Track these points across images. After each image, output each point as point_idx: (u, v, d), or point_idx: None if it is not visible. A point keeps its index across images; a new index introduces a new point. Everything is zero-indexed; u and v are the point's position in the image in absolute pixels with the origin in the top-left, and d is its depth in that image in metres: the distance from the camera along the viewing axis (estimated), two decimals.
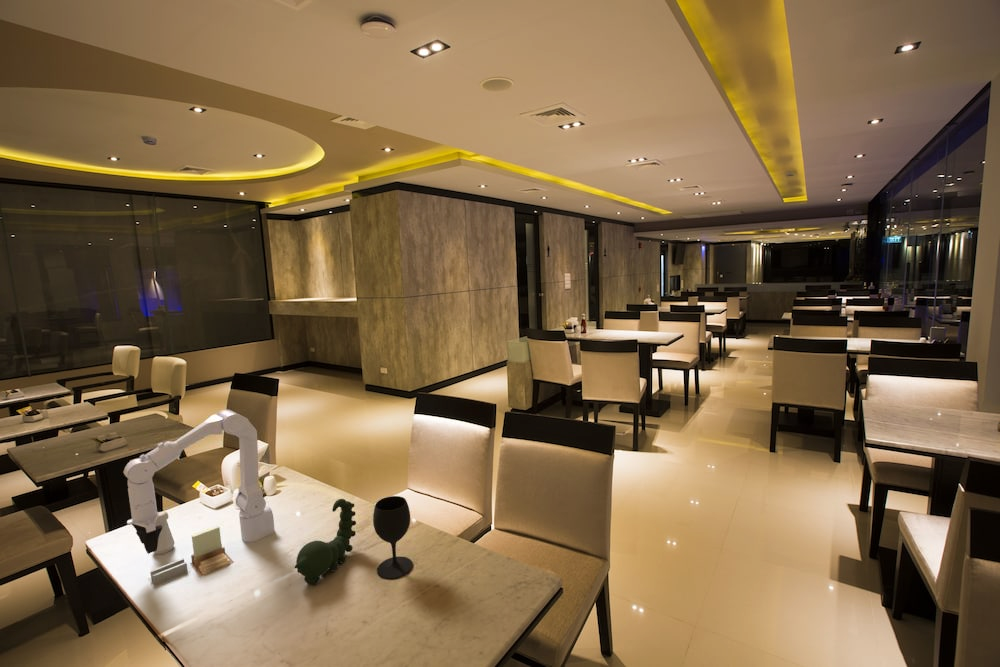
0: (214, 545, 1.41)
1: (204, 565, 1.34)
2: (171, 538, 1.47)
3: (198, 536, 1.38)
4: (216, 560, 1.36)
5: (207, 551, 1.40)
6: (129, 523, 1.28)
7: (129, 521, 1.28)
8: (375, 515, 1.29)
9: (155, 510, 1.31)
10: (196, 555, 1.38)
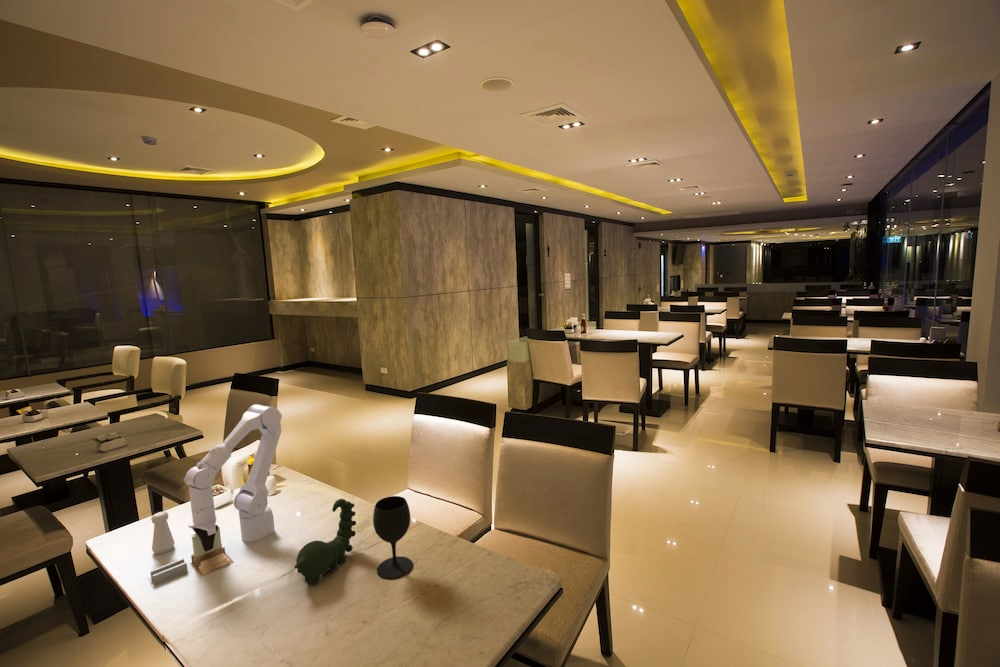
0: (214, 545, 1.41)
1: (204, 565, 1.34)
2: (171, 538, 1.47)
3: (198, 536, 1.38)
4: (216, 560, 1.36)
5: (207, 551, 1.40)
6: (191, 526, 1.36)
7: (191, 524, 1.37)
8: (375, 515, 1.29)
9: (213, 514, 1.39)
10: (196, 555, 1.38)
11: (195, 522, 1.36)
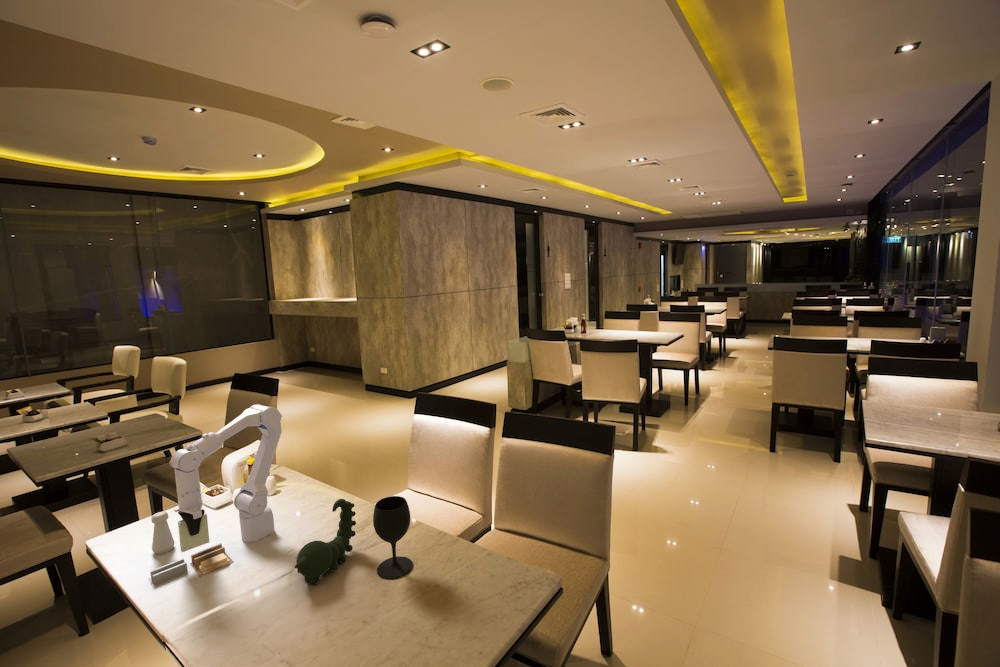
0: (201, 532, 1.38)
1: (204, 565, 1.34)
2: (171, 538, 1.47)
3: None
4: (216, 560, 1.36)
5: (193, 538, 1.37)
6: (176, 510, 1.33)
7: (176, 508, 1.34)
8: (375, 515, 1.29)
9: (200, 498, 1.36)
10: (182, 542, 1.35)
11: (181, 506, 1.34)
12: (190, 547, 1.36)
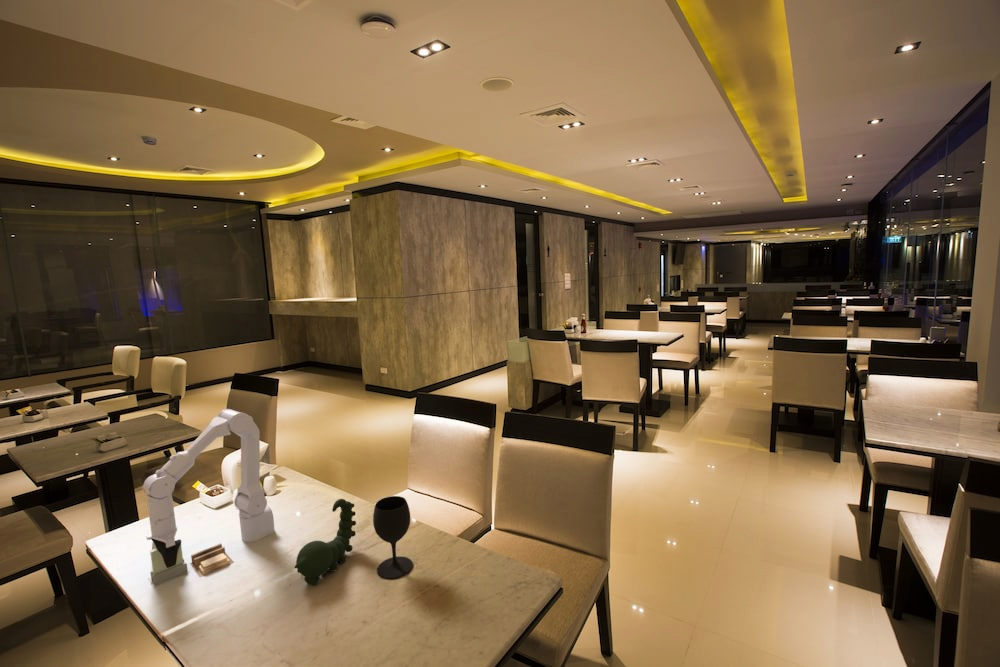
0: None
1: (204, 565, 1.34)
2: None
3: (157, 551, 1.30)
4: (216, 560, 1.36)
5: None
6: (149, 538, 1.29)
7: (149, 536, 1.29)
8: (375, 515, 1.29)
9: (174, 525, 1.32)
10: (155, 571, 1.30)
11: (153, 533, 1.29)
12: None
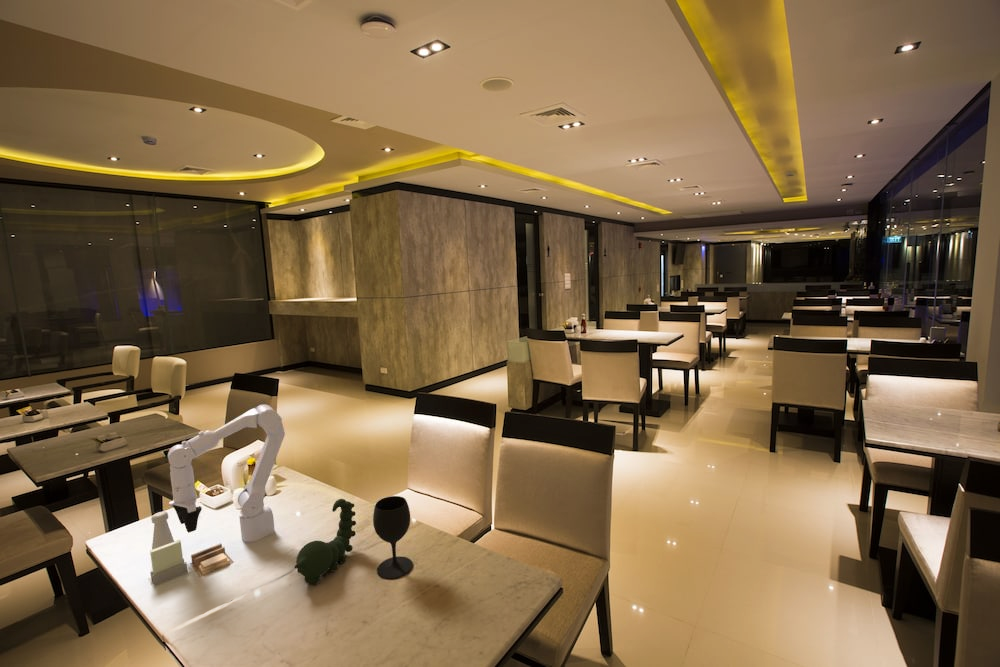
0: (175, 561, 1.34)
1: (204, 565, 1.34)
2: (171, 538, 1.47)
3: (157, 551, 1.30)
4: (216, 560, 1.36)
5: (167, 567, 1.32)
6: (171, 504, 1.37)
7: (171, 502, 1.38)
8: (375, 515, 1.29)
9: (194, 493, 1.41)
10: (155, 571, 1.30)
11: (175, 500, 1.38)
12: None
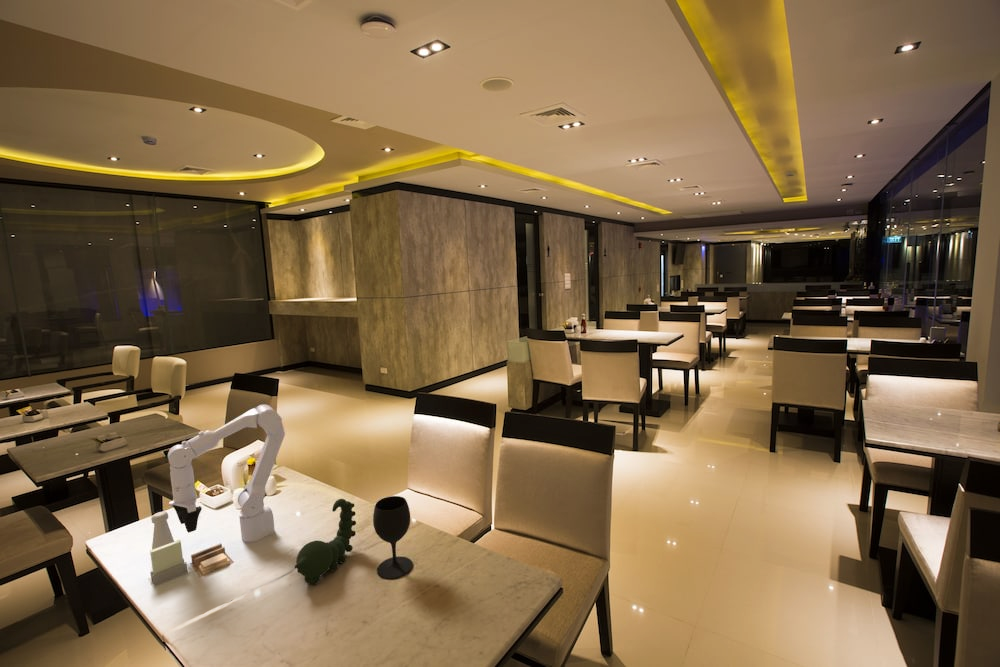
0: (175, 561, 1.34)
1: (204, 565, 1.34)
2: (171, 538, 1.47)
3: (157, 551, 1.30)
4: (216, 560, 1.36)
5: (167, 567, 1.32)
6: (171, 504, 1.37)
7: (171, 502, 1.38)
8: (375, 515, 1.29)
9: (194, 493, 1.41)
10: (155, 571, 1.30)
11: (175, 500, 1.38)
12: None
